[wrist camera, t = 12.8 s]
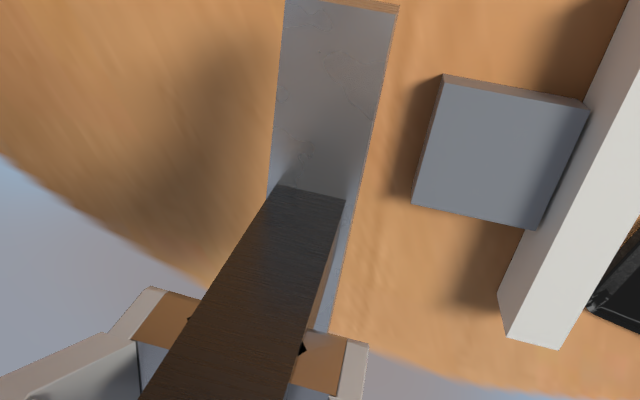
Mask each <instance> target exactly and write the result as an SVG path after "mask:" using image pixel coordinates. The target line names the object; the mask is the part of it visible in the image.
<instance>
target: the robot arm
mask: <svg viewBox="0 0 640 400" xmlns="http://www.w3.org/2000/svg"><path fill="white" fill-rule="evenodd" d="M200 302H201V300H199V299H195V298H191V297H188V296H185V295H182V294H178V293H175V292H171V291H167V290H163V289H159V288H156V287H153V286H150V287H148V288H146V289H144V291H143V292H142V293H141V294H140V295H139V296H138V298H137V299H136V300H135V301H134V302H133V304H132V305H131V306H130V307H129V308H128V309H127V311H126V312H125V313H124V314H123V315H122V316H121V318H120V319H119V320H118V321H117V322H116V324H115V325H114V326H113V327H112V329H111V330H110V331H109V332H108V333H103V332H100V333H98V334H96V335H94V336H91V337H89V338H87V339H85V340H82V341H80V342H78V343H76V344H73V345H71V346H69V347H67V348H64V349H62V350H60V351H58V352H55V353H53V354H51V355H49V356H46V357H44V358H42V359H40V360H37V361H35V362H33V363H31V364H29V365H26V366H24V367H22V368H20V369H17V370H15V371H13V372H11V373H8V374H6V375H4V376H2V377H0V400H137V399H138V398H139V396H140V395H141V393H142V392H143V390H144V388H145V387H146V385H147V384H148V382H149V381H150V379H151V378H152V376H153V374H154V373H155V371H156V370H157V368H158V367H159V365H160V364H161V362H162V361H163V359H164V357H165V356H166V354H167V353H168V351H169V350H170V348H171V347H172V345H173V343H174V342H175V340H176V339H177V337H178V336H179V334H180V333H181V331H182V329H183V328H184V326H185V325H186V323H187V322H188V320H189V319H190V317H191V316H192V314H193V312H194V311H195V309H196V308H197V306H198V305H199V303H200ZM368 352H369V345H368V343H364V342H361V341H357V340H353V339H349V338H348V339H347V338H345V337H341V336H337V335H333V334H329V333H326V332H322V331H318V330H314V329H310V328H307V329H306V332H305V335H304V338H303V341H302V346H301V352H300V355H299V356H298V357H297V360H296V363H295V366H294V370H293V373H292V376H291V379H290V382H289V387H288V393H287V399H286V400H362V396H363V388H364V381H365V374H366V367H367V360H368Z"/></svg>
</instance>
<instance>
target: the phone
mask: <svg viewBox="0 0 640 400" xmlns="http://www.w3.org/2000/svg"><path fill="white" fill-rule="evenodd" d="M585 306H586V308H587V309H588V310H589V312H591V313H593V314H594V315H597V316H599V317H601V318H603V319H606V320H608V321H610V322H613V323H615V324H617V325H619V326H622V327H624V328H626V329H629V330H631V331H633V332H635V333H638V334H640V228H639V229H638V230H637V231H636V232H635V233H634V235H633V236H632V237H631V238H630V239H629V240H628V241H627V242H626V243H625V244H624V245H623V246H622V248H621V249H620V250H619V251H618V252H617V253H616V255H615V256H614V258H613V260H612V261H611V263H610V265H609V266H608V268H607V270H606V271H605V273H604V275H603V277H602V278H601V280H600V282H599V283H598V285H597V287H596V288H595V290H594V292H593V293H592V295H591V297H590V298H589V300H588V302H587V304H586V305H585Z"/></svg>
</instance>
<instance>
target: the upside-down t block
mask: <svg viewBox="0 0 640 400" xmlns="http://www.w3.org/2000/svg"><path fill="white" fill-rule="evenodd" d="M399 8H400V5H396V4H390V3H385V2H379V1H374V0H285V10H284V20H283V31H282V41H281V51H280V62H279V72H278V82H277V92H276V103H275V113H274V123H273V134H272V144H271V154H270V165H269V175H268V185H267V196H266V201H265V202H264V204H263V205H262V207H261V208H260V210H259V212H258V213H257V215H256V216H255V218H254V219H253V221H252V222H251V224H250V226H249V227H248V229H247V230H246V232H245V233H244V235H243V236H242V238H241V240H240V241H239V243H238V244H237V246H236V247H235V249H234V250H233V252H232V253H231V255H230V257H229V258H228V260H227V261H226V263H225V264H224V266H223V267H222V269H221V271H220V272H219V274H218V275H217V277H216V278H215V280H214V281H213V283H212V285H211V286H210V288H209V289H208V291H207V292H206V294H205V295H204V297H203V298H202V300H201V302H200V303H199V305H198V306H197V308H196V309H195V311H194V312H193V314H192V316H191V317H190V319H189V320H188V322H187V323H186V325H185V326H184V328H183V329H182V331H181V333H180V334H179V336H178V337H177V339H176V340H175V342H174V343H173V345H172V347H171V348H170V350H169V351H168V353H167V354H166V356H165V357H164V359H163V361H162V362H161V364H160V365H159V367H158V368H157V370H156V371H155V373H154V374H153V376H152V378H151V379H150V381H149V382H148V384H147V385H146V387H145V388H144V390H143V392H142V393H141V395H140V396H139V398H138V399H137V400H286V399H287V393H288V387H289V382H290V379H291V376H292V373H293V370H294V366H295V363H296V360H297V357H298V356H299V355H300V352H301V346H302V341H303V338H304V335H305V332H306V329H307V328H310V329H314V330H318V331H322V332H326V333H328V331H329V327H330V323H331V319H332V314H333V310H334V305H335V300H336V296H337V291H338V287H339V282H340V278H341V273H342V268H343V264H344V259H345V255H346V250H347V246H348V241H349V236H350V232H351V227H352V223H353V218H354V214H355V209H356V205H357V200H358V195H359V191H360V186H361V182H362V177H363V173H364V168H365V163H366V159H367V154H368V150H369V145H370V141H371V136H372V131H373V127H374V122H375V118H376V113H377V109H378V104H379V100H380V95H381V90H382V86H383V81H384V77H385V72H386V68H387V63H388V58H389V54H390V49H391V45H392V40H393V36H394V31H395V27H396V22H397V17H398V13H399Z"/></svg>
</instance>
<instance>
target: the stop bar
mask: <svg viewBox="0 0 640 400" xmlns="http://www.w3.org/2000/svg"><path fill="white" fill-rule="evenodd" d="M583 104H584V105H585V106H586V107H587V108H588V109H590V110H591V112H590V114H589V116H588V118H587V120H586V122H585V125H584V127H583V129H582V131H581V133H580V136H579V138H578V140H577V142H576V144H575V146H574V149H573V151H572V153H571V155H570V157H569V159H568V162H567V164H566V166H565V168H564V170H563V173H562V175H561V177H560V179H559V181H558V183H557V186H556V188H555V190H554V192H553V194H552V197H551V199H550V201H549V203H548V205H547V207H546V210H545V212H544V214H543V216H542V218H541V220H540V223H539V225H538V227H537V229H536V231H532V230H527V229H525V231H524V233H523V236H522V238H521V240H520V242H519V245H518V247H517V249H516V251H515V253H514V256H513V258H512V260H511V262H510V264H509V267H508V269H507V271H506V273H505V275H504V278H503V280H502V282H501V284H500V287H499V289H498V291H497V293H496V294H497V299H498V303H499V308H500V312H501V317H502V321H503V326H504V330H505V335H506V337H507V338H511V339H515V340H519V341H523V342H527V343H531V344H535V345H538V346H542V347H546V348H550V349H554V350H558V351H559V349H560V347H561V346H562V344H563V342H564V341H565V339H566V337H567V336H568V334H569V332H570V331H571V329H572V327H573V325H574V324H575V322H576V320H577V319H578V317H579V315H580V314H581V312H582V310H583V309H584V307H585V305H586V304H587V302H588V300H589V298H590V297H591V295H592V293H593V292H594V290H595V288H596V287H597V285H598V283H599V282H600V280H601V278H602V277H603V275H604V273H605V271H606V270H607V268H608V266H609V265H610V263H611V261H612V260H613V258H614V256H615V255H616V253H617V251H618V250H619V248H620V246H621V244H622V243H623V241H624V239H625V238H626V236H627V234H628V233H629V231H630V229H631V228H632V226H633V224H634V223H635V221H636V219H637V217H638V216H639V214H640V0H629V1H628V4H627V6H626V8H625V10H624V12H623V15H622V17H621V19H620V21H619V24H618V26H617V28H616V30H615V32H614V35H613V37H612V39H611V41H610V43H609V46H608V48H607V50H606V52H605V54H604V57H603V59H602V61H601V63H600V66H599V68H598V70H597V72H596V74H595V77H594V79H593V81H592V83H591V85H590V88H589V90H588V92H587V94H586V96H585V99H584V101H583Z"/></svg>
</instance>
